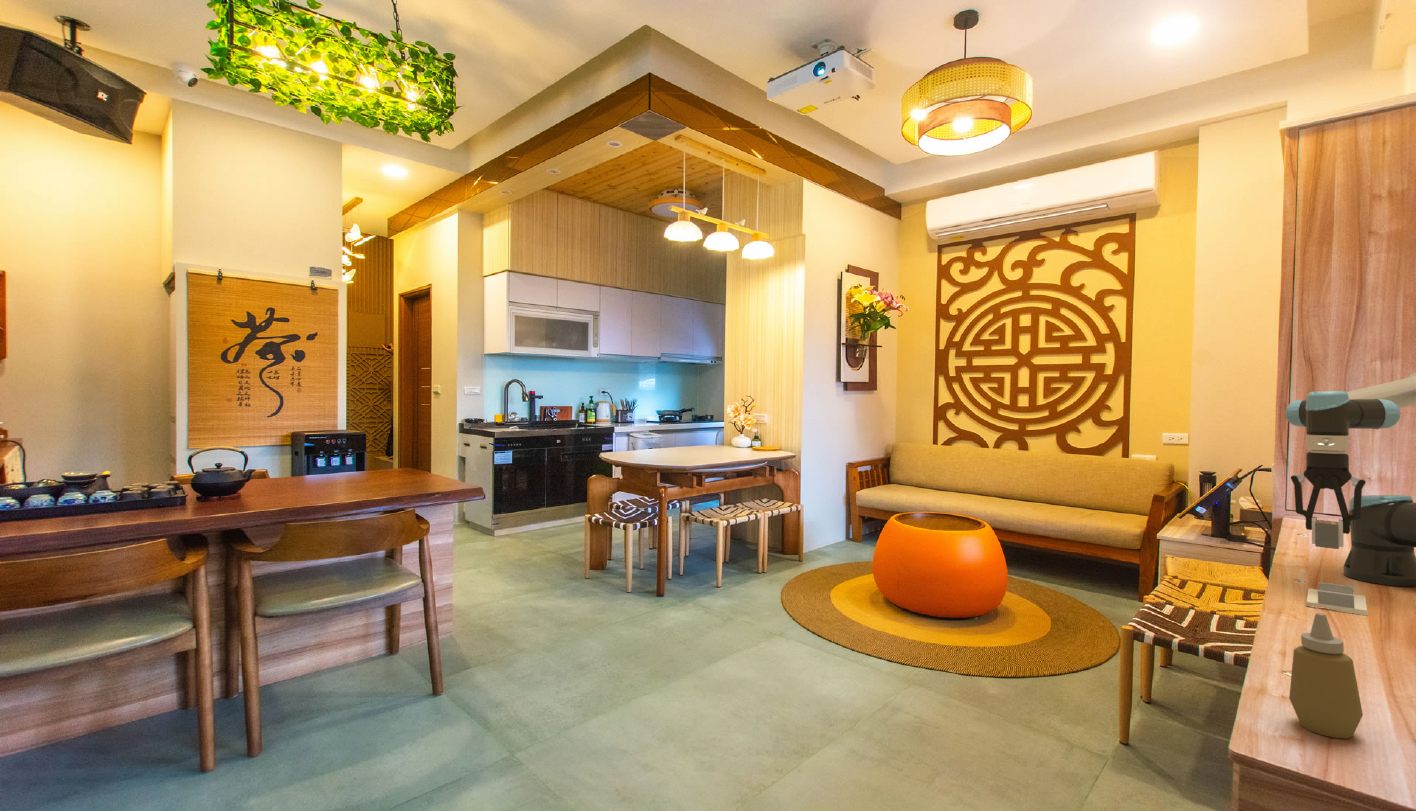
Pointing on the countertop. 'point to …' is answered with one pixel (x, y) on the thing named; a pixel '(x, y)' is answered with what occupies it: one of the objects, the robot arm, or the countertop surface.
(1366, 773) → the countertop surface
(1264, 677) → the countertop surface
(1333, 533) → the plug
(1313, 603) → the board
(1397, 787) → the countertop surface
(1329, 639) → the squeeze bottle
